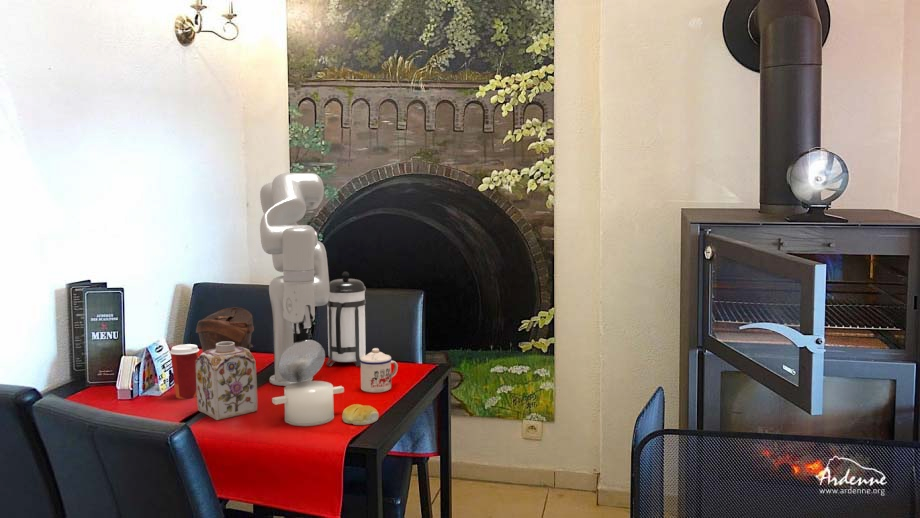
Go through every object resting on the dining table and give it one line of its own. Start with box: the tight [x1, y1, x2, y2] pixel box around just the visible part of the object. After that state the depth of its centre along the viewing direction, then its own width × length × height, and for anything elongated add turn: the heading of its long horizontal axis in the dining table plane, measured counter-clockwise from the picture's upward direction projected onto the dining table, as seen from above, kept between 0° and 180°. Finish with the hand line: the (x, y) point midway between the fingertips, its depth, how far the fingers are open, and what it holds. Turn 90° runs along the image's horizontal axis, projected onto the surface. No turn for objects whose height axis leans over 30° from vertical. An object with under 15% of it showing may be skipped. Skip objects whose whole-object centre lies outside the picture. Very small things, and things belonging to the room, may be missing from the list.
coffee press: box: [326, 271, 367, 368], centre depth 244 cm, size 17×16×30 cm
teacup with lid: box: [360, 347, 399, 394], centre depth 217 cm, size 12×9×12 cm
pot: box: [271, 380, 345, 427], centre depth 190 cm, size 12×18×8 cm, turn 125°
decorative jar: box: [196, 341, 258, 421], centre depth 195 cm, size 12×12×18 cm
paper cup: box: [169, 343, 200, 400], centre depth 209 cm, size 8×8×14 cm
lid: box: [278, 339, 326, 382], centre depth 192 cm, size 12×12×2 cm
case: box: [195, 306, 255, 353], centre depth 242 cm, size 18×20×18 cm
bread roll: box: [341, 403, 380, 426], centre depth 189 cm, size 8×9×4 cm
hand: (300, 348), depth 192 cm, fingers closed
